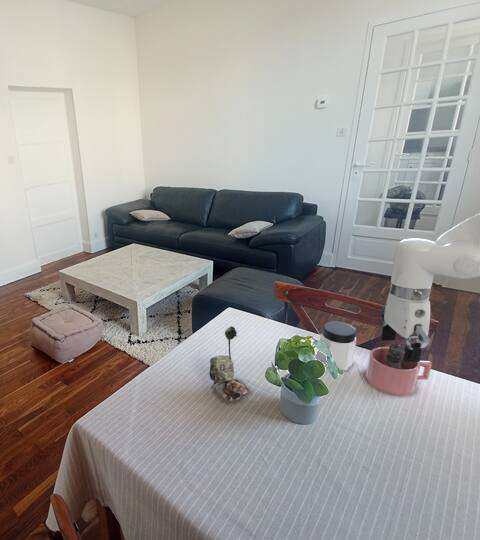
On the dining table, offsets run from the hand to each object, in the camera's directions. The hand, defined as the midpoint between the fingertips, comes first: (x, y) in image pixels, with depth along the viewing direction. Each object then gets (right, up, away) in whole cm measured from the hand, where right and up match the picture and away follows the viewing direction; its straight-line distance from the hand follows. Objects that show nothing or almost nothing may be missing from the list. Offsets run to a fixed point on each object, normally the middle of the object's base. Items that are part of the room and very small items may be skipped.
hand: (398, 350), depth 87 cm
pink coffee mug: (+2, -10, +4) cm, 11 cm away
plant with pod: (-42, -14, +7) cm, 45 cm away
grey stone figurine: (+1, -9, +4) cm, 10 cm away
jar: (-8, -7, +14) cm, 18 cm away
